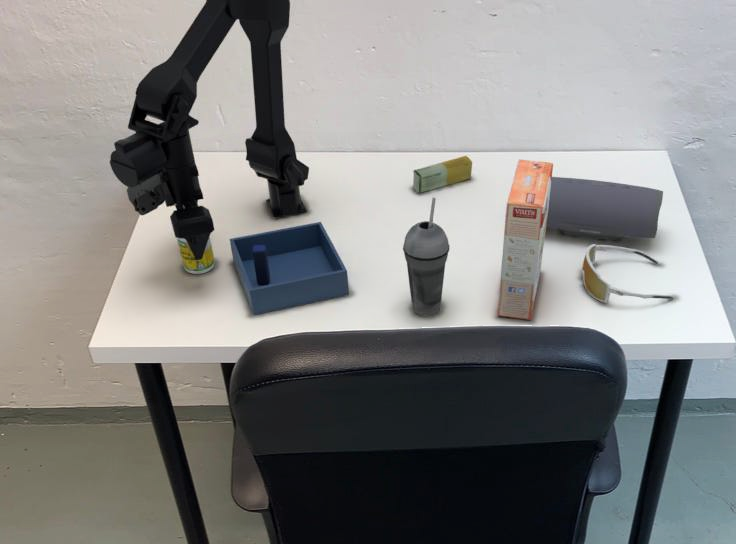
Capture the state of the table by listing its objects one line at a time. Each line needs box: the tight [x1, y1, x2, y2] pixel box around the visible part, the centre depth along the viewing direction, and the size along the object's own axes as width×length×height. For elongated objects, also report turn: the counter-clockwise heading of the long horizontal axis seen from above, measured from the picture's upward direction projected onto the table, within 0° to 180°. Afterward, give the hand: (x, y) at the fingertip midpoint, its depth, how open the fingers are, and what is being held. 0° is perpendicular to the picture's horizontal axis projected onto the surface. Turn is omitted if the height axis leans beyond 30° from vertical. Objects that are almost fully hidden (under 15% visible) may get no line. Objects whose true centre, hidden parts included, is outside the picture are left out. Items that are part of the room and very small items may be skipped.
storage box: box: [229, 221, 350, 316], centre depth 151 cm, size 16×16×5 cm
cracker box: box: [497, 159, 554, 321], centre depth 142 cm, size 14×6×21 cm, turn 168°
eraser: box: [252, 245, 270, 286], centre depth 149 cm, size 2×2×7 cm
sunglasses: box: [581, 243, 675, 303], centre depth 150 cm, size 14×15×5 cm
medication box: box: [412, 155, 473, 194], centre depth 174 cm, size 12×3×4 cm, turn 118°
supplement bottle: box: [176, 237, 216, 275], centre depth 152 cm, size 5×5×10 cm
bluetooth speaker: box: [546, 176, 664, 241], centre depth 159 cm, size 23×9×10 cm, turn 77°
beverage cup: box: [402, 197, 450, 317], centre depth 139 cm, size 7×7×20 cm
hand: (194, 245), depth 152 cm, fingers open, 9 cm apart
